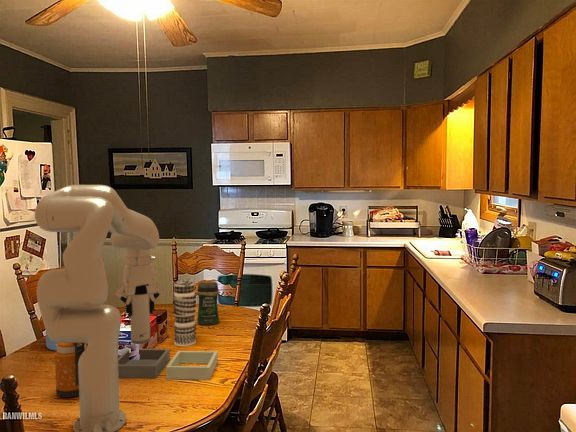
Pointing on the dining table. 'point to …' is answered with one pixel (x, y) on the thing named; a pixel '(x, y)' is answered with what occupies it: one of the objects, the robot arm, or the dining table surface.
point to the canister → (68, 368)
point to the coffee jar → (208, 303)
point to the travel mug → (140, 316)
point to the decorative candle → (184, 313)
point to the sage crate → (192, 371)
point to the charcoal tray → (143, 363)
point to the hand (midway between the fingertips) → (140, 313)
